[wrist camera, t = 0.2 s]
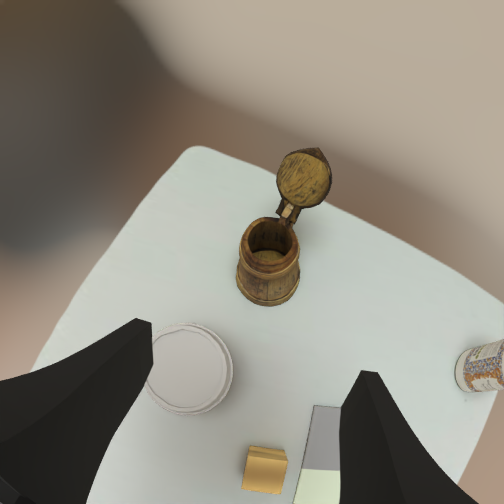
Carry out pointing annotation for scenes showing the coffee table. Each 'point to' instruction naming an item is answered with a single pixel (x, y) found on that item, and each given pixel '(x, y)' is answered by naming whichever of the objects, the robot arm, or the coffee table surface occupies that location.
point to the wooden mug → (282, 230)
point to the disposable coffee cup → (189, 369)
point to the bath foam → (481, 368)
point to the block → (265, 470)
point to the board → (321, 460)
